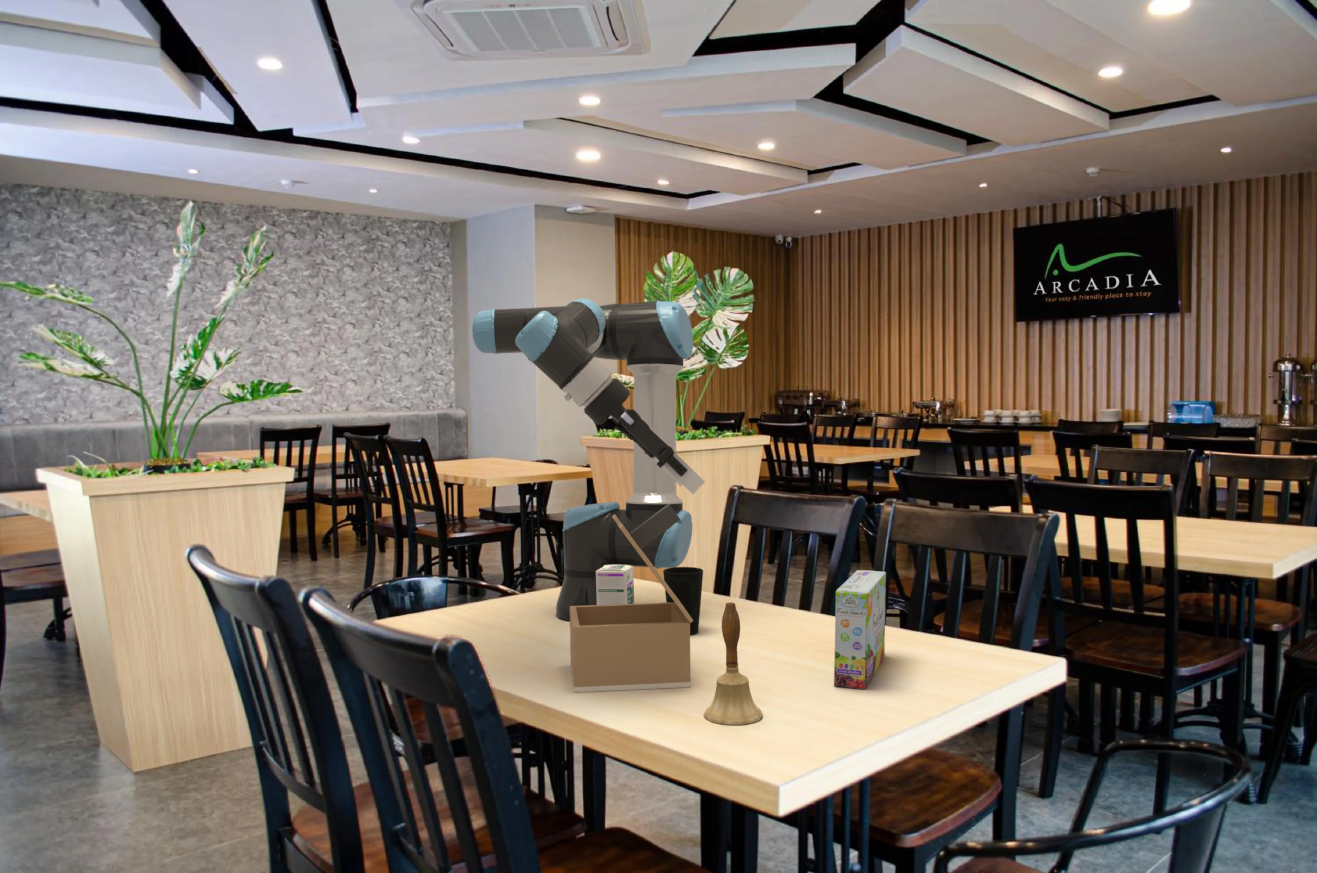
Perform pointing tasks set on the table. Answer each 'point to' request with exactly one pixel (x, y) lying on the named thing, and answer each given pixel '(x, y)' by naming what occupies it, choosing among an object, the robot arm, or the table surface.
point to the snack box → (859, 628)
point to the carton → (629, 647)
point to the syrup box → (615, 585)
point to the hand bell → (732, 681)
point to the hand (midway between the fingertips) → (692, 484)
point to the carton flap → (648, 534)
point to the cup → (686, 591)
